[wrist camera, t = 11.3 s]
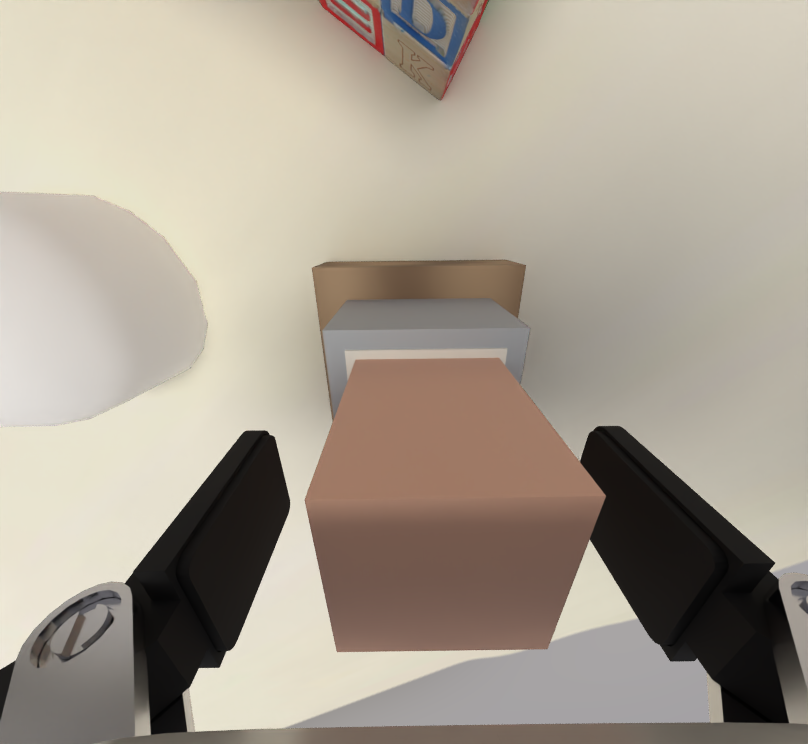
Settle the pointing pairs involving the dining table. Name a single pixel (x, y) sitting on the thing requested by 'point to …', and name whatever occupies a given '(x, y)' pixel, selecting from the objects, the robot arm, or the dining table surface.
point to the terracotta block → (446, 510)
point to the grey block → (421, 334)
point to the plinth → (415, 284)
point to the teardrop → (87, 309)
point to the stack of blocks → (415, 34)
